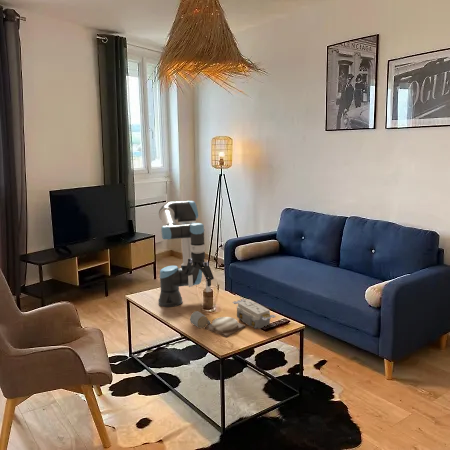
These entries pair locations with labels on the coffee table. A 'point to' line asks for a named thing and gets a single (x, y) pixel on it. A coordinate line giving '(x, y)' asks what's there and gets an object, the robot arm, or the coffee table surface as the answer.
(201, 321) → the ceramic mug
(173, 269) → the robot arm
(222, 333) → the pedestal
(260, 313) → the electrical outlet
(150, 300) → the coffee table surface
